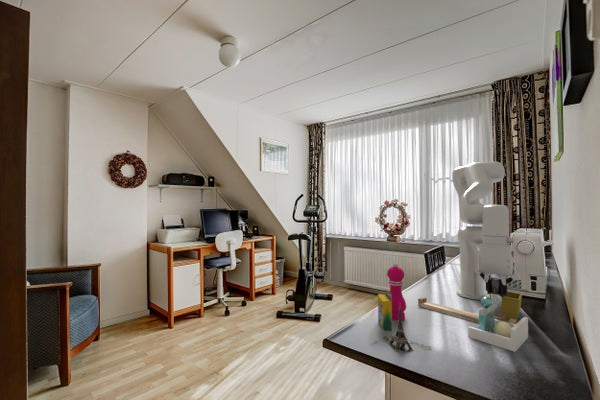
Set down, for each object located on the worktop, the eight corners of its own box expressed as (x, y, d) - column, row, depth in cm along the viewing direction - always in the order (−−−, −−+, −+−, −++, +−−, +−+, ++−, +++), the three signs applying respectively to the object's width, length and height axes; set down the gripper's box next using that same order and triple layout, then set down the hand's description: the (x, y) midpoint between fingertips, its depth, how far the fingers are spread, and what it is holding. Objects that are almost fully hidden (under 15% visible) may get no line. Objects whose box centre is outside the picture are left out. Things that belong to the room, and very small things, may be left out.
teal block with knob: (491, 320, 99) (491, 276, 100) (505, 324, 96) (504, 278, 97) (474, 333, 89) (474, 283, 90) (489, 337, 86) (488, 286, 87)
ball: (493, 321, 92) (510, 318, 88) (502, 338, 90) (519, 335, 86) (488, 325, 88) (505, 322, 85) (496, 342, 87) (514, 340, 83)
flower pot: (489, 318, 103) (489, 293, 103) (493, 312, 109) (493, 288, 110) (519, 325, 97) (519, 299, 97) (522, 318, 103) (522, 293, 104)
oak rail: (423, 303, 119) (422, 296, 119) (516, 329, 94) (516, 320, 94) (418, 305, 116) (418, 298, 116) (513, 332, 92) (512, 323, 92)
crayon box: (377, 322, 100) (377, 288, 100) (386, 322, 100) (386, 289, 100) (383, 331, 93) (382, 295, 93) (392, 331, 93) (392, 295, 93)
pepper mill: (408, 322, 100) (407, 265, 100) (386, 320, 101) (386, 264, 102) (404, 314, 107) (404, 261, 107) (384, 313, 108) (384, 260, 109)
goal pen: (484, 324, 98) (484, 307, 98) (528, 337, 88) (527, 317, 88) (468, 336, 89) (467, 317, 89) (515, 351, 79) (514, 330, 80)
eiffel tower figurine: (433, 349, 82) (433, 302, 82) (424, 364, 74) (423, 313, 74) (383, 334, 91) (383, 292, 91) (370, 347, 83) (369, 301, 83)
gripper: (528, 242, 94) (529, 298, 93) (473, 238, 106) (473, 287, 106) (522, 244, 89) (523, 303, 88) (465, 239, 101) (465, 291, 101)
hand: (496, 294), depth 97 cm, fingers closed on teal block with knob, 3 cm apart
